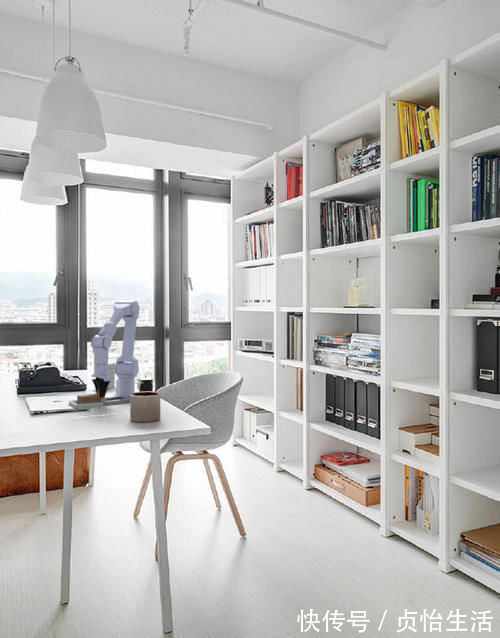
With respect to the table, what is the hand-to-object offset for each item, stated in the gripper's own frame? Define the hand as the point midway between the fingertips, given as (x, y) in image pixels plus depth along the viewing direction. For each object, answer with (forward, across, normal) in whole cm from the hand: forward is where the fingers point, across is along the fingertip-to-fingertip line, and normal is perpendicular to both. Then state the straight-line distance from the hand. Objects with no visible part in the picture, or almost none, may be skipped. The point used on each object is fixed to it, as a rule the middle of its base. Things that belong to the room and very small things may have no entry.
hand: (100, 396), depth 210 cm
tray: (+4, 0, -6) cm, 7 cm away
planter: (+4, +35, +4) cm, 35 cm away
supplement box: (+4, -41, +16) cm, 44 cm away
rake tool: (+3, 0, 0) cm, 3 cm away
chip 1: (+3, 0, -7) cm, 8 cm away
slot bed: (+4, 0, +4) cm, 6 cm away
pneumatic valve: (+4, +7, +16) cm, 18 cm away
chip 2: (+3, 0, -3) cm, 4 cm away
